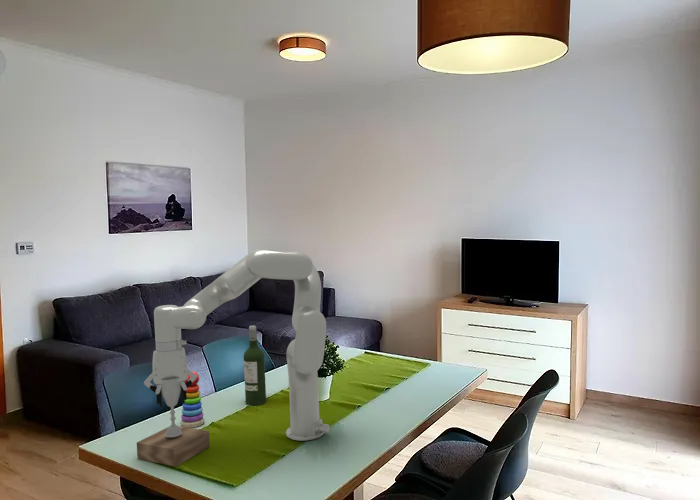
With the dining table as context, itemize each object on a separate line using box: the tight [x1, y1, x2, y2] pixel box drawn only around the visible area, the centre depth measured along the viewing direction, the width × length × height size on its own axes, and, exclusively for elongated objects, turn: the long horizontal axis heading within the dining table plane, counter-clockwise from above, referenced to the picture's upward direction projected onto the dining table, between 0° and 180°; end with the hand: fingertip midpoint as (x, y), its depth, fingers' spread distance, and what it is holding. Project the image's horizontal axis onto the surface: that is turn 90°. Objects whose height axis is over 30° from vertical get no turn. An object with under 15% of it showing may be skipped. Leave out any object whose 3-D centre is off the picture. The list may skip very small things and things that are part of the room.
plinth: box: [136, 425, 211, 468], centre depth 168 cm, size 15×15×5 cm
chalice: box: [160, 378, 182, 437], centre depth 168 cm, size 7×7×18 cm
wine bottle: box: [243, 325, 267, 407], centre depth 212 cm, size 8×8×30 cm
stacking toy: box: [180, 370, 205, 428], centre depth 192 cm, size 8×8×19 cm
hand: (172, 403), depth 168 cm, fingers closed on chalice, 6 cm apart
